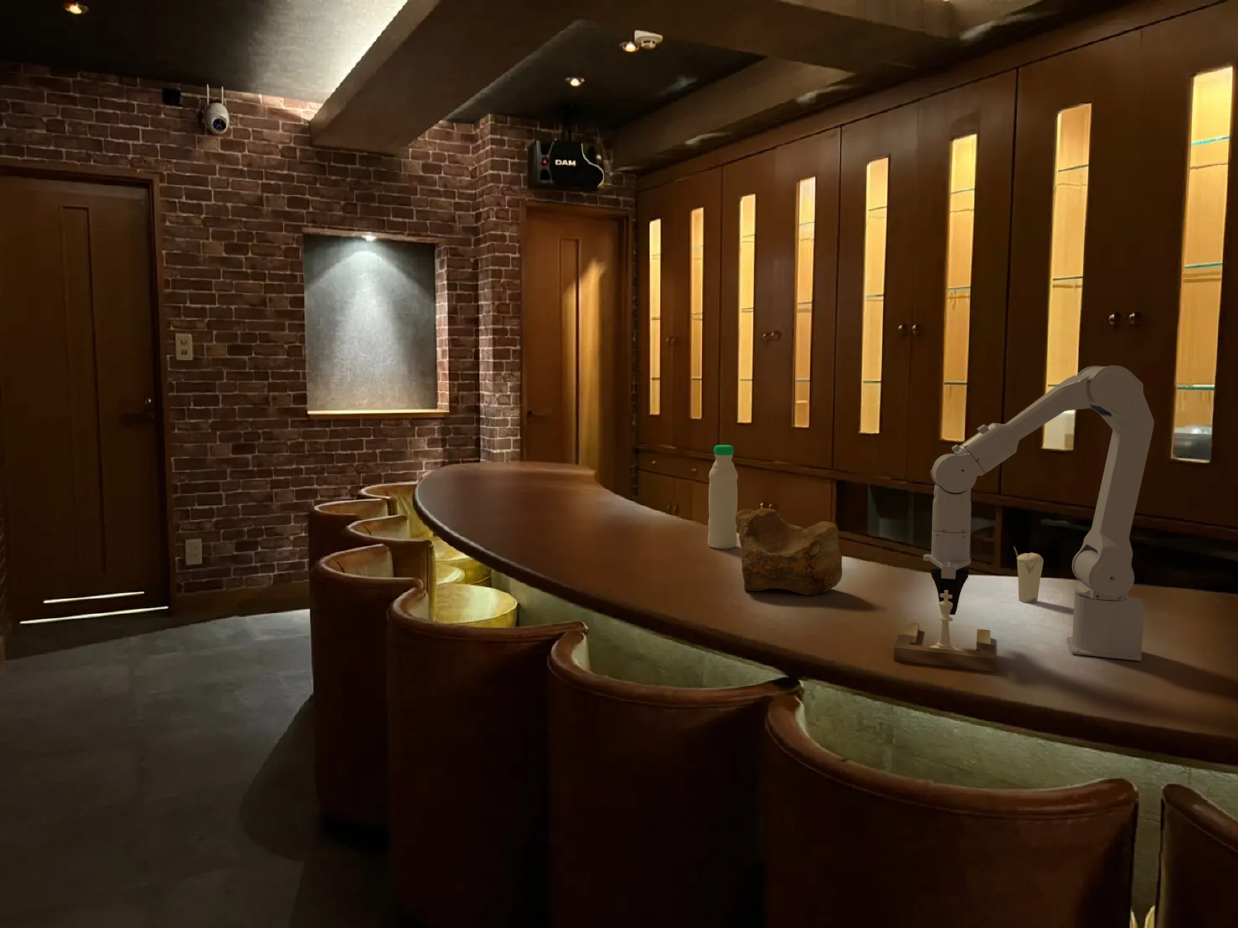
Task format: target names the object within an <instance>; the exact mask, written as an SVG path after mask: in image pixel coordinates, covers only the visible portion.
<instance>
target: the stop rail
mask: <svg viewBox="0 0 1238 928" xmlns="http://www.w3.org/2000/svg"><path fill="white" fill-rule="evenodd" d="M911 638H912V636H908V635H903V634H897V637H896V640H895V643H894V648H893V661H898V662H907V663H915V664H921V665H922V664H923V665H931V666H932V665H934V666H942V667H947V668H958V669H965V670H966V669H967V670H975V671H983V672H989V673H990V672H993V673H995V669H996V646H995V644H992V643H991V644H982V643H980V650H979V652H974V651H967V650H966V651H964V650H960V651H958V650H949V649H941V648H932V647H930V646H921V645H914V644H913V645H912V643H911Z"/></svg>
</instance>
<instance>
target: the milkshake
mask: <svg viewBox="0 0 1238 928" xmlns="http://www.w3.org/2000/svg"><path fill="white" fill-rule="evenodd" d="M1013 549H1014V551H1015V552H1014V553H1015V555H1016V565H1017V576H1018V577H1017V578H1018V579H1017V581H1018V601H1020V602H1021V603H1027V604H1036V603H1038V598H1039V590H1040V584H1041V577H1042V571H1043V566H1044V558H1043V557H1042V556H1041V555H1040V554H1038V553H1034V552H1029V553H1026V552H1024V553H1021V554H1018V551H1017V549H1016V547H1015V546H1013Z"/></svg>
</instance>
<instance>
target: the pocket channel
mask: <svg viewBox="0 0 1238 928" xmlns="http://www.w3.org/2000/svg"><path fill="white" fill-rule="evenodd" d="M903 630H904V631H903V633H902V635H908V636H912V638H911V644H916V643H917V640H918V636H919V631H920V622H914V621H913V622H912V621H906V622H905V627H904V629H903ZM980 643H982V644H991V645H992V643H991V629H983V628H977V629H976V649H975V650H976V651H980Z"/></svg>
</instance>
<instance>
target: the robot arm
mask: <svg viewBox="0 0 1238 928" xmlns="http://www.w3.org/2000/svg"><path fill="white" fill-rule="evenodd" d="M1084 409H1090V410H1093V411H1094V412H1096V413H1098V414H1099V416H1100V417H1102V419H1103V420H1104V421H1105V422H1106V423H1107V425H1108V426H1109V427H1110V428H1111V430H1112V433H1111V438H1110V442H1109V447H1108V451H1107V456H1106V461H1105V465H1104V470H1103V475H1102V479H1101V484H1100V488H1099V489H1100V490H1099V492H1098V497H1097V498H1098V499H1097V502H1096V507H1095V512H1094V515H1093V521H1092V524H1091V529H1090V530H1089V531H1088V533H1087V534H1086V535H1085V537H1083V541H1082V542H1083V543H1082V546H1081V548H1080V549H1079V551H1077V553H1076V554H1075V555H1074V556H1073V559H1072V562H1071V563H1072V564H1071V568H1072V569H1071V571H1072V573H1073V574H1074V576H1075V578H1076V580H1078V583H1077V584H1076V586H1075V587H1074V600H1073V617H1072V619H1073V621H1072V635H1071V636H1067V638H1066V642H1067V644H1068V646H1069V647H1068V648H1069V650H1070V653H1071V654H1074V655H1080V656H1081V655H1082V656H1090V657H1091V656H1092V657H1098V658H1099V657H1100V658H1111V659H1118V660H1126V661H1127V660H1129V661H1130V660H1131V661H1137V662H1141V661H1142V649H1143V648H1142V647H1143V634H1144V633H1143V632H1144V631H1143V630H1144V603H1143V600H1142V598H1139V597H1133V596H1128V595H1129V592H1130V590H1131V589H1132V588H1133V586H1134V583H1135V573H1134V570H1133V567H1132V560H1133V556H1134V555H1133V554H1134V553H1133V548H1132V545H1131V541H1130V534H1131V530H1132V527H1133V525H1132V524H1133V521H1134V515H1135V513H1136V512H1135V511H1136V507H1137V503H1138V500H1139V499H1138V498H1139V493H1140V489H1141V485H1142V480H1143V476H1144V472H1145V468H1146V467H1145V466H1146V463H1147V459H1148V453H1149V448H1150V445H1151V440H1152V437H1153V431H1154V426H1155V420H1154V417H1153V415H1152V414H1153V413H1152V412H1151V410H1150V407H1149V404H1148V402H1147V399H1146V396H1145V394H1144V383H1143V382H1142V381H1141V380H1140V379H1139V378H1138V377H1136V375H1135V374H1134V373H1133V372H1132V371H1130V370H1129V369H1128V368H1126V367H1124V366H1121V365H1108V366H1102V365H1092V366H1087V367H1085V368H1083V369H1081V370H1080V371H1079V372H1078V373H1077V375H1076V374H1074V375H1072V376H1070V377H1067V378H1066V379H1064V380H1063V381H1061V382H1060V383H1059V384H1057V385H1055V386H1054V387H1053V388H1052V389H1050V390H1049V391H1048V392H1046V393H1045V394H1043V395H1042V396H1041V397H1039V398H1038V399H1036V400H1035V401H1034V402H1033V403H1031V404H1030V405H1029V406H1027V407H1026V408H1025V409H1023V410H1022V411H1021V412H1019V413H1018V414H1017V415H1015V416H1014V417H1013V418H1011V419H1010V420H1009V421H1007V422H1006V423H998V422H992V423H990V424H989V425H986V424H982V425H981V426H979V427H978V428H976V430H977V431H978V432H977V433H976V434H975V435H973V436H971V437H970V438H968V439H967V440H966V441H964V442H963V443H962V444H960V445H958V444H955V445H954V446H952V447H951V450H952V451H953V453H946V454H943V455H941V456H939V457H938V458H937V459H936V460H935V461H934V463H933V465H932V469H930V476H931V480H932V481H933V482H934V490H933V501H932V516H931V517H932V520H931V521H932V522H931V525H932V526H931V549H930V550H931V551H930V552H931V553H930V554H929V553H927V554H926V553H925V554H924V555H923V558H922V559H923V561H925V562H931V563H932V564H934V565H935V566H936V567H935V566H933V567H931V569H930V576H931V578H932V580H933V581H934V584H935V587H936V591H937V596H938V603H939V602H941V601H944V597H940V594H944V591H945V590H948V595H952V598H951V599H950V598H948V601H949V602H951V603H952V604H953V606H952V609H951V611H950V614H949V616H955V615H956V613H957V610H958V606H959V601H960V596H961V594H962V593H961V592H962V589H963V588H964V585H965V583H966V582H967V580H968V578H969V573H970V570H969V568H967V566H969V565H971V563H972V561H971V560H972V558H971V556H970V553H971V552H970V551H971V526H972V525H971V522H972V515H971V514H972V501H971V495H972V493H971V492H972V491H971V490H972V489H973V487H974V485H975V484H976V481H977V477H978V476H979V477H981V476H983V475H985V474H986V473H988V472H989V471H991V470H993V469H994V468H995V467H997V466H998V465H999V464H1001V463H1003V462H1005V461H1006V460H1008V458H1010V457H1011V456H1013V455H1014V454H1016V453H1017V450H1018V447H1019V442H1020V441H1021V440H1022V439H1024V438H1025V437H1026V436H1028V435H1030V434H1031V433H1033V432H1035V431H1036V430H1038V429H1039V428H1041V427H1042V426H1044V425H1045V424H1047V423H1049V422H1050V421H1052V420H1053V419H1055V418H1057V417H1058V416H1060V415H1061V414H1063V413H1065V412H1068V411H1073V410H1074V411H1075V410H1084ZM939 609H940V608H939ZM940 611H941V609H940Z"/></svg>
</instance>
